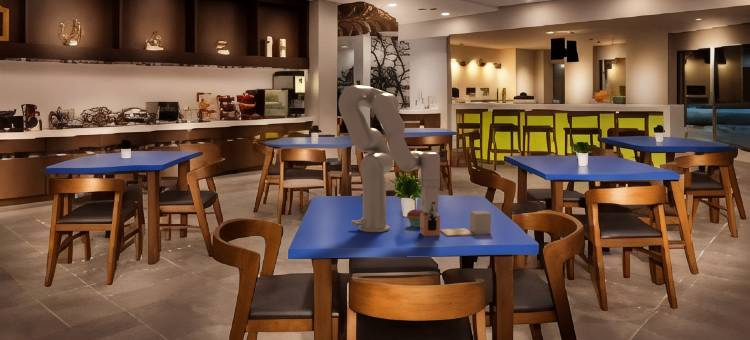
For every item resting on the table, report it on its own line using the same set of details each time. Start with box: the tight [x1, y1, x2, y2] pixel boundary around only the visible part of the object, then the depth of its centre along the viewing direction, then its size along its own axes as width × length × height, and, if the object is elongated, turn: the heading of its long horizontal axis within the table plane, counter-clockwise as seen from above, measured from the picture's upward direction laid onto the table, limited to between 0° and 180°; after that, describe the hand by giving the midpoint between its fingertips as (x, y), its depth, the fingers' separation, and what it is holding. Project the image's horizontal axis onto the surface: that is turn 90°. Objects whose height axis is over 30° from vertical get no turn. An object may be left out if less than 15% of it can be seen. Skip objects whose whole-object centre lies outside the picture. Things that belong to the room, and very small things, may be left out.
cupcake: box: [406, 198, 424, 228], centre depth 260 cm, size 9×8×12 cm
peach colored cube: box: [419, 213, 441, 237], centre depth 243 cm, size 6×6×8 cm
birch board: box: [440, 227, 475, 237], centre depth 246 cm, size 11×11×1 cm
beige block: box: [469, 210, 492, 235], centre depth 247 cm, size 6×6×8 cm
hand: (429, 228), depth 243 cm, fingers closed on peach colored cube, 6 cm apart
